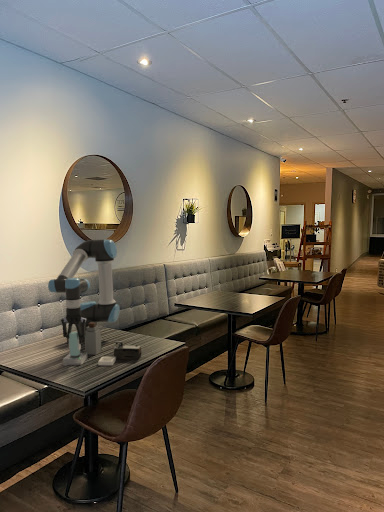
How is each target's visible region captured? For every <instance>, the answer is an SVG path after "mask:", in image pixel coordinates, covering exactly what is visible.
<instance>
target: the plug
mask: <svg viewBox="0 0 384 512" xmlns="http://www.w3.org/2000/svg"><path fill="white" fill-rule="evenodd" d="M78 338H79V337H78V333H77V331H71V333H70V334H69V339H70V350H69V353H70V356H78V355H79V354H80V352H81V349H80V350H79V351H78V343H77V339H78Z"/></svg>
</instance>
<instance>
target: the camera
mask: <svg viewBox="0 0 384 512" xmlns="http://www.w3.org/2000/svg"><path fill="white" fill-rule="evenodd" d="M123 344H124V343H123V341H122V340H121V341H115V346H114V348H113V357H116V360H137V361H139V360H140V359H141V357H142V347H141V345H137V344H136V345H127V344H126V345H123Z"/></svg>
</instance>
